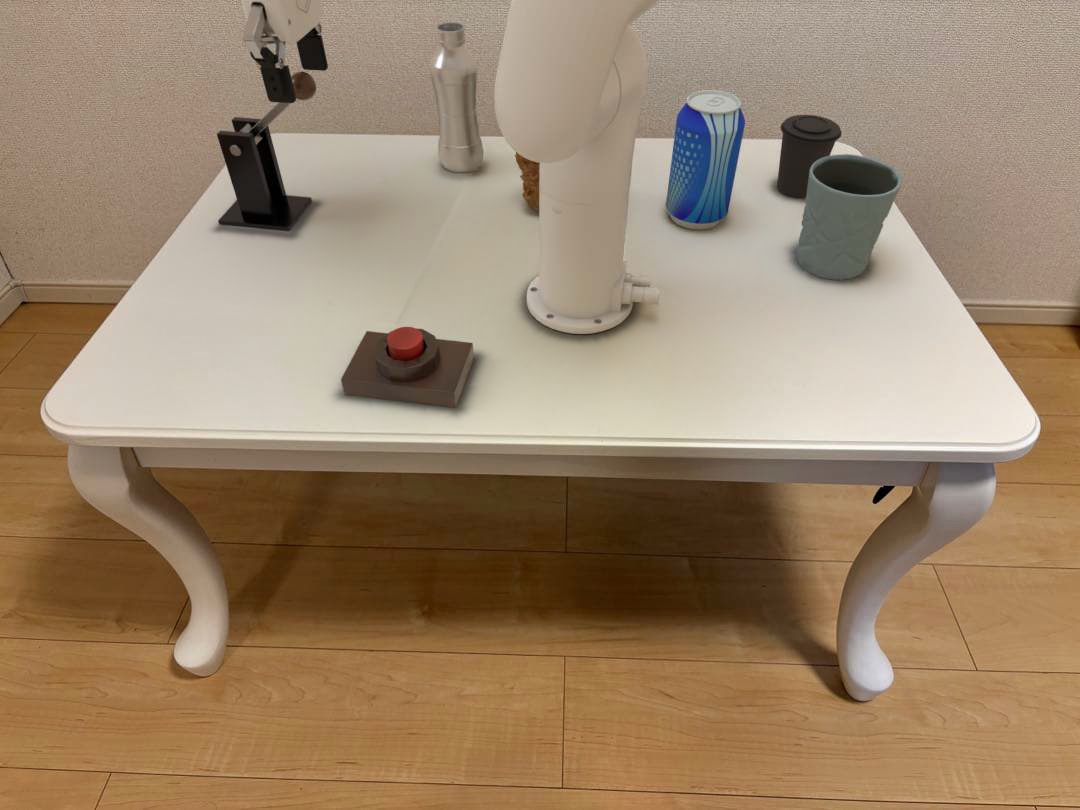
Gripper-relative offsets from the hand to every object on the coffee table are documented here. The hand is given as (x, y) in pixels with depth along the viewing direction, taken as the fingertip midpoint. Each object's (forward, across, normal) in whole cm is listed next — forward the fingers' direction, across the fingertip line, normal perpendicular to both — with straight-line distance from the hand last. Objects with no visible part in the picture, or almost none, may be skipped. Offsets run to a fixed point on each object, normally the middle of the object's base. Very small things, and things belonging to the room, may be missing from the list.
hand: (299, 84), depth 91 cm
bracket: (+18, 0, +10) cm, 21 cm away
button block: (+19, -28, -19) cm, 39 cm away
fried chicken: (+19, +10, -30) cm, 37 cm away
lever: (+5, 0, +3) cm, 6 cm away
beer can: (+20, +10, -48) cm, 53 cm away
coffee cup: (+20, +20, -62) cm, 69 cm away
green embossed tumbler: (+20, +2, -65) cm, 68 cm away
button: (+16, -28, -19) cm, 37 cm away
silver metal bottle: (+19, +18, -14) cm, 30 cm away
